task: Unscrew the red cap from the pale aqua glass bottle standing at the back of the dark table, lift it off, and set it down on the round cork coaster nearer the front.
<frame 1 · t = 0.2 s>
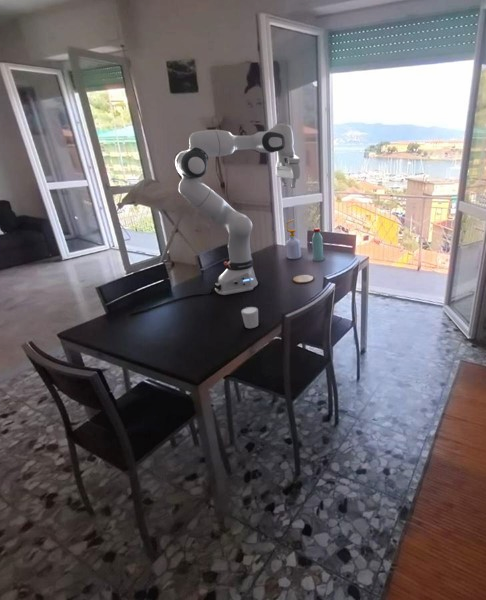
hand: (288, 187, 186), 48 cm above the table, tool pointing down, fingers open, 8 cm apart
bottle: (318, 259, 227), on the table
coaster: (303, 279, 195), on the table
shot glass: (251, 325, 150), on the table
soap bottle: (294, 257, 232), on the table
cap: (316, 229, 218), point 20 cm above the table, screwed on, not yet turned
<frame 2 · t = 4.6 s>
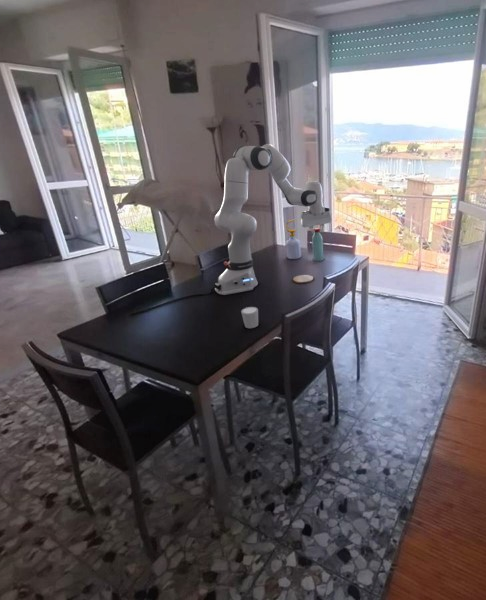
hand: (317, 232, 219), 18 cm above the table, tool pointing down, fingers closed on cap, 4 cm apart
cap: (316, 229, 218), point 20 cm above the table, screwed on, not yet turned, touching gripper
everything else where it was.
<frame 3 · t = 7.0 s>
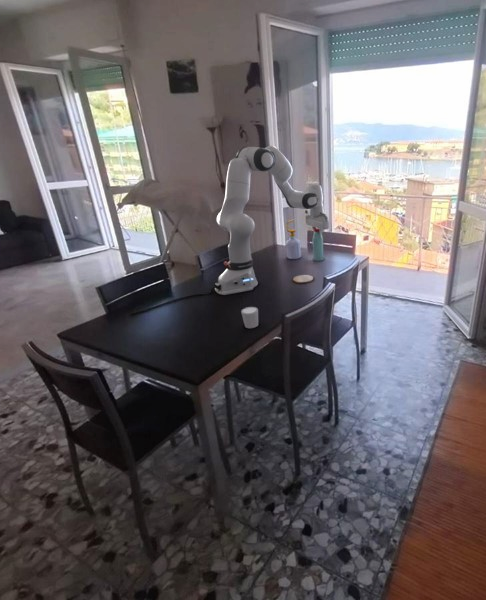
hand: (317, 234, 220), 16 cm above the table, tool pointing down, fingers closed on bottle, 4 cm apart
bottle: (318, 259, 227), on the table, touching gripper
cap: (317, 228, 219), point 20 cm above the table, turned 95° so far, risen 0.1 cm, still on its thread
everything else where it was.
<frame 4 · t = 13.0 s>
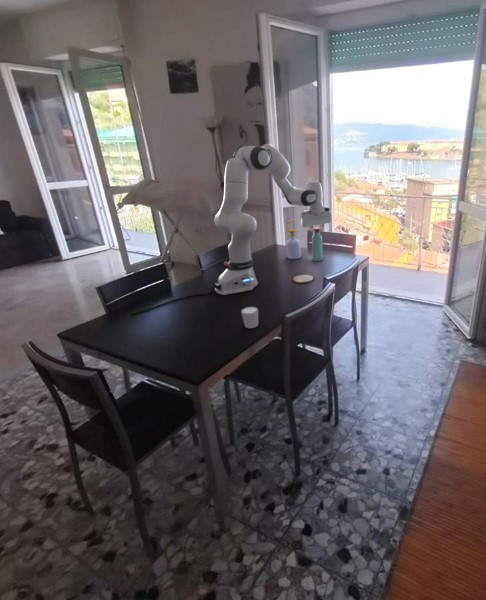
hand: (317, 232, 219), 18 cm above the table, tool pointing down, fingers closed on cap, 4 cm apart
bottle: (317, 259, 226), on the table
cap: (316, 228, 218), point 20 cm above the table, turned 189° so far, risen 0.2 cm, still on its thread, touching gripper
everything else where it was.
when the fingers open (3 cm above the table, at t = 38.1 s): cap drops 3 cm, resting on coaster.
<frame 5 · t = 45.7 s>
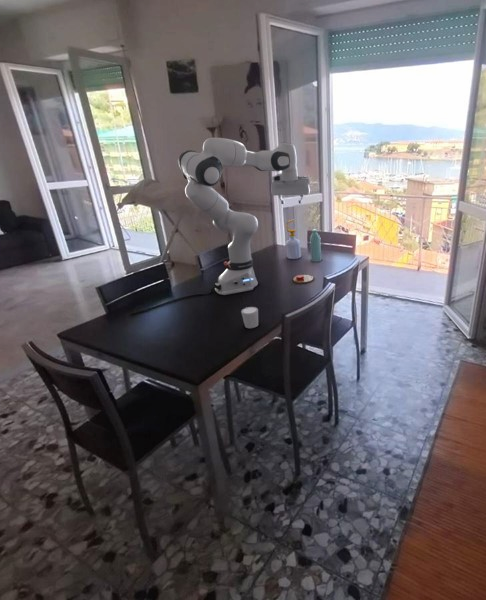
hand: (291, 203, 190), 39 cm above the table, tool pointing down, fingers open, 8 cm apart
bottle: (316, 260, 226), on the table
cap: (299, 276, 193), point 2 cm above the table, off its thread, touching coaster
everything else where it was.
at the end: cap came off its thread; cap inside the target area on the coaster (2.0 cm from its centre), point 2.3 cm above the coaster's base; the gripper is holding nothing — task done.
